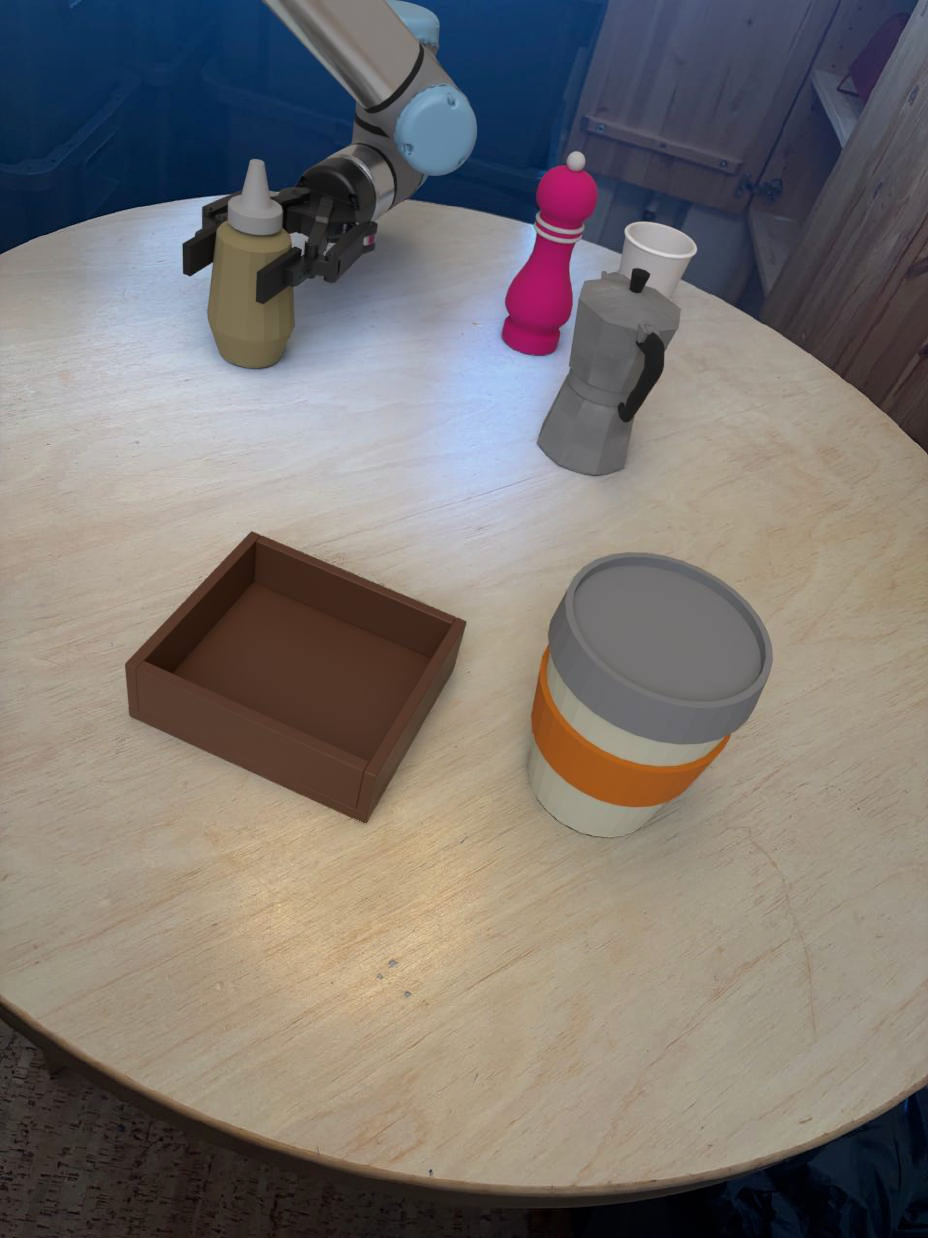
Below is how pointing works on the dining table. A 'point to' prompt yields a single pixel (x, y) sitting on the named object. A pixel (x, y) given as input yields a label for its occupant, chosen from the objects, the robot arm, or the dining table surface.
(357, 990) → the dining table surface
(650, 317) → the coffeepot
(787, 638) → the dining table surface
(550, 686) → the reusable coffee cup
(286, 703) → the brown tray
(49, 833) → the dining table surface
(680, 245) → the dixie cup
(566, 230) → the pepper mill
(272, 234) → the squeeze bottle
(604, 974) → the dining table surface
